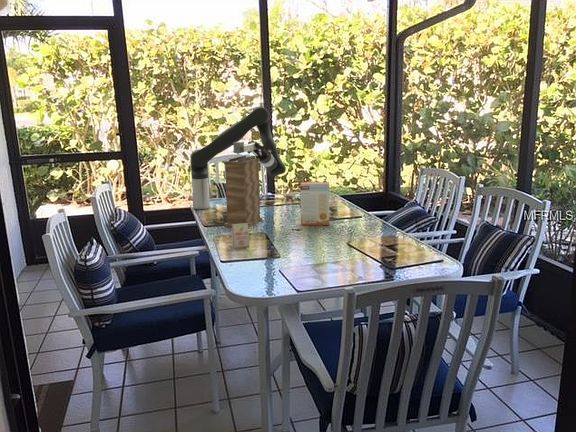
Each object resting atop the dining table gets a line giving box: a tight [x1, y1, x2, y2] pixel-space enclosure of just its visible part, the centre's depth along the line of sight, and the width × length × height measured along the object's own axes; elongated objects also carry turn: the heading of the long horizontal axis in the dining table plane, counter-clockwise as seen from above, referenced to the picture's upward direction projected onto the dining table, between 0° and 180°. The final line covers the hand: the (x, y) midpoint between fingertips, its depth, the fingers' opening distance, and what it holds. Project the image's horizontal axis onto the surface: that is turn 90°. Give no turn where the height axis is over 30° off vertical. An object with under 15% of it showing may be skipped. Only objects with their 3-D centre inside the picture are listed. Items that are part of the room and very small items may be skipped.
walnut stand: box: [223, 155, 264, 229], centre depth 247 cm, size 18×12×33 cm, turn 157°
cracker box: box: [300, 181, 330, 226], centre depth 245 cm, size 14×6×21 cm, turn 84°
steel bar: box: [232, 141, 261, 154], centre depth 247 cm, size 22×4×5 cm, turn 157°
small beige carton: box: [230, 223, 250, 249], centre depth 210 cm, size 4×7×10 cm, turn 105°
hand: (252, 143), depth 252 cm, fingers closed on steel bar, 3 cm apart
